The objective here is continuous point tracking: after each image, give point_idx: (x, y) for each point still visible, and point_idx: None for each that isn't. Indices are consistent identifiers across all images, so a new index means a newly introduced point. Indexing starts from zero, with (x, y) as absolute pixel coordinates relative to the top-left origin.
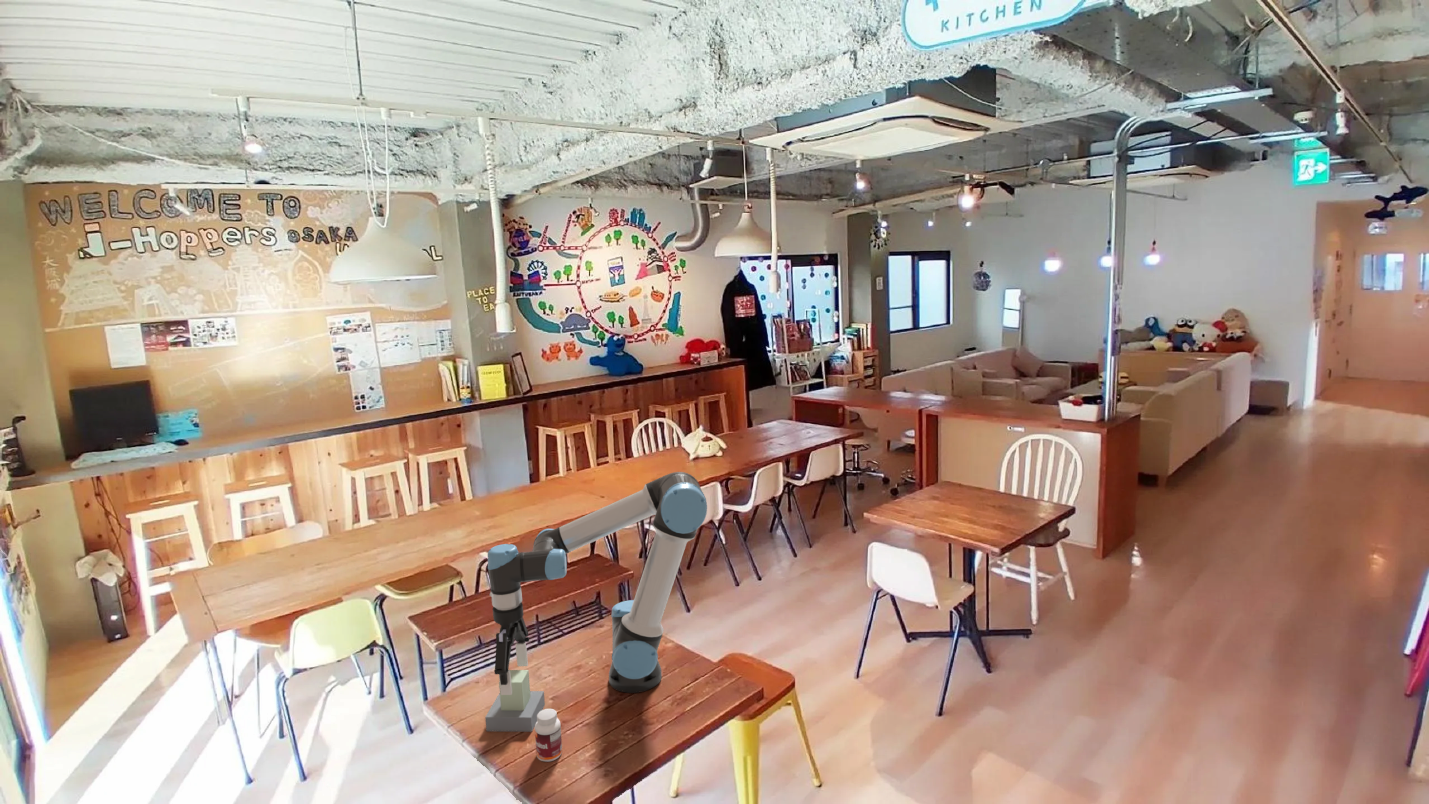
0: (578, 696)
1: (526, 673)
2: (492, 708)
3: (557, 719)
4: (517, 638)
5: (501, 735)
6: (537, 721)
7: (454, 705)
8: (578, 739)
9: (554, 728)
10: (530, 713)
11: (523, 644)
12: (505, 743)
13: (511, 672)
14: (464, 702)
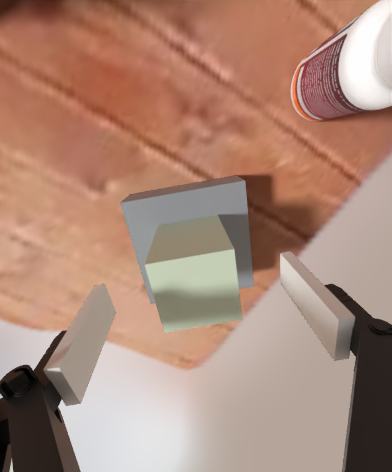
0: (66, 117)
1: (170, 260)
2: None
3: (388, 7)
4: (66, 439)
5: (255, 234)
6: (390, 97)
7: (179, 353)
8: (255, 23)
9: None
10: (227, 190)
11: (64, 371)
12: (280, 213)
13: (176, 311)
14: (167, 344)
